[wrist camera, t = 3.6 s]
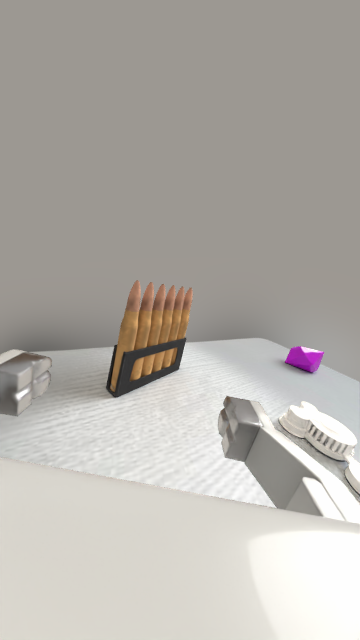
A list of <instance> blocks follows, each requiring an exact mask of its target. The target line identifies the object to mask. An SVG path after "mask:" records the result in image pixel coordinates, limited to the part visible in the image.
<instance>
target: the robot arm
mask: <svg viewBox="0 0 360 640" xmlns="http://www.w3.org/2000/svg"><path fill="white" fill-rule="evenodd" d="M51 367H52V360H51V358H50V357H46V356H42V355H38V354H33V353H29V352H25V351H20V350H10V351H8V352H5V353H3V354H1V355H0V414H6V415H12V416H18V415H20V414H21V413H22V412H23V411H24V410H25V409H26V408H27V407H29V406H30V405H31V403H32V399H35V398H37V397H40V396H41V395H42V394H43V393H44V392H45V391H46V389H47V388H48V386H49V384H50V381H51V374H50V373H49V371H48V369H49V368H51ZM223 404H224V407H225V408H224V409H223V410H221V411H220V414H219V418H218V430H219V434H220V435H221V436H222V437H223V439H222V442H221V443H222V447H223V452H224V456H225V458H229V459H234V460H238V461H242V462H245V464H246V466H247V467H248V469H249V470H250V471H251V473H252V474H253V476H254V477H255V478H256V480H257V481H258V482H259V484H260V485H261V487H262V488H263V489H264V491H265V492H266V494H267V495H268V496H269V498H270V499H271V500H272V502H273V503H274V505H275V506H276V507H277V508H273V507H267V506H262V505H256V504H251V503H246V502H240V501H235V500H229V499H224V498H219V497H213V496H208V495H203V494H197V493H192V492H186V491H181V490H176V489H170V488H165V487H160V486H154V485H149V484H144V483H138V482H133V481H127V480H122V479H117V478H111V477H106V476H100V475H95V474H90V473H84V472H79V471H73V470H68V469H63V468H57V467H52V466H46V465H41V464H36V463H30V462H25V461H20V460H14V459H9V458H3V457H0V640H360V504H359V502H358V501H357V500H356V499H355V497H354V496H353V495H352V493H351V492H350V491H349V489H348V488H347V487H346V485H345V484H344V483H343V482H341V481H340V480H339V479H338V478H336V477H335V476H334V475H333V474H332V473H330V472H329V471H328V470H327V469H325V468H324V467H323V466H322V465H321V464H319V463H318V462H317V461H316V460H314V459H313V458H312V457H311V456H310V455H308V454H307V453H306V452H305V451H303V450H302V449H301V448H300V447H299V446H297V445H296V444H295V443H294V442H292V441H291V440H290V439H289V438H288V437H286V436H285V435H284V434H283V433H281V432H280V431H277V430H276V429H275V427H274V426H273V424H272V422H271V421H270V419H269V417H268V416H267V414H266V412H265V411H264V409H263V407H262V406H261V404H260V403H259V402H256V401H250V400H244V399H239V398H234V397H229V396H227V397H226V398H225V400H224V403H223Z"/></svg>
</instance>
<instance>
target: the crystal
mask: <svg viewBox="0 0 360 640" xmlns="http://www.w3.org/2000/svg"><path fill="white" fill-rule="evenodd" d="M323 354H324V352H321V351H317V350H313V349H309V348H305V347H301V346H300V347H293V348H291V350H290V352H289V354H288V357H287V359H286V361H285V363H288V364H290V365H293V366H296V367H298V368H301V369H304V370H306V371H309V372H314V371H316V370H317V369H318V367H319V365H320V362H321V359H322V357H323Z"/></svg>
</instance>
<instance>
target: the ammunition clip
mask: <svg viewBox="0 0 360 640" xmlns="http://www.w3.org/2000/svg"><path fill="white" fill-rule="evenodd" d="M140 296H141V291H140V283H139V281H138V280H137V281H136V282H135V283H134V285H133V287H132V289H131V291H130V294H129V297H128V302H127V306H126V310H125V314H124V318H123V320H122V323H121V328H120V333H119V339H118V345H115V346H114V351H113V356H112V361H111V366H110V371H109V376H108V381H107V386H106V388H107V389H108V390H109V391H110V392H111V393H112V394H113V395H114V396H115V397H119V396H121V395H123V394H125V393H128V392H130V391H132V390H134V389H137V388H139V387H141V386H143V385H145V384H148V383H150V382H152V381H154V380H156V379H159V378H161V377H163V376H165V375H167V374H170V373H172V372H174V371H176V370H178V369H179V366H180V362H181V358H182V354H183V350H184V346H185V342H186V338H185V333H186V329H187V325H188V321H189V312H190V307H191V303H192V288H189V290H188V291H187V293H186V295H185V297H184V287H181V288H180V290H179V292H178V294H177V296H176V299H175V286H174V285H173V286H172V287H171V289H170V290H169V292H168V294H167V297H166V300H165V286H164V284H162V285H161V286H160V288H159V290H158V292H157V294H156V298H155V300H154V304H153V299H154V288H153V283H152V282H150V283H149V285H148V286H147V288H146V291H145V293H144V296H143V299H142V303H141V307H140V310H139V306H140ZM152 307H153V308H152Z"/></svg>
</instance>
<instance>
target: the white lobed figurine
mask: <svg viewBox="0 0 360 640" xmlns="http://www.w3.org/2000/svg"><path fill="white" fill-rule="evenodd" d="M283 398H284V397H283ZM279 421H280V423H281V425H282V426H283V427H284V428H285V429H286V430H287V431H288V432H290V433H291V434H293V435H295V436H297V437H300V438H306V439H307V440H308V441H309V442H310V443H311V444H312V445H313V446H314V447H315V448H317V449H318V450H319V451H321V452H322V453H324V454H326V455H328V456H330V457H332V458H334V459H337V460H346V459H347V460H346V462H347V463H348V464H349V465H348V467H347V468H346V470H345V476H346V478H347V480H348V481H349V483H350V484H351V486H352V487H353V488H354V489H355V490H356V491H357V492H358V493H359V494H360V464H359V463H358V462H357V461H356V460H355V459H353V458H352V457H353V456H354V455H353V454H355V453H354V452H353V451H354V447H355V446H356V444H357V439H356V437H355V436H354V435H353V433H352V432H351V431H350V430H349V429H348V428H346V427H345V426H344V425H343V424H341V423H340V422H338V421H337V420H335V419H334V418H332V417H330V416H328V415H326V414H323V413H321V412H318V410H317V409H316V408H315V407H314V406H313V405H311V404H310V403H307V402H301V405H300V406H299V407H297V406H293V405H292V406H290V408H289V410H288V412H285V413H284V414H283V416H281V417H280V418H279ZM351 453H353V454H351ZM350 455H351V456H352V457H351V456H350Z"/></svg>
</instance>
